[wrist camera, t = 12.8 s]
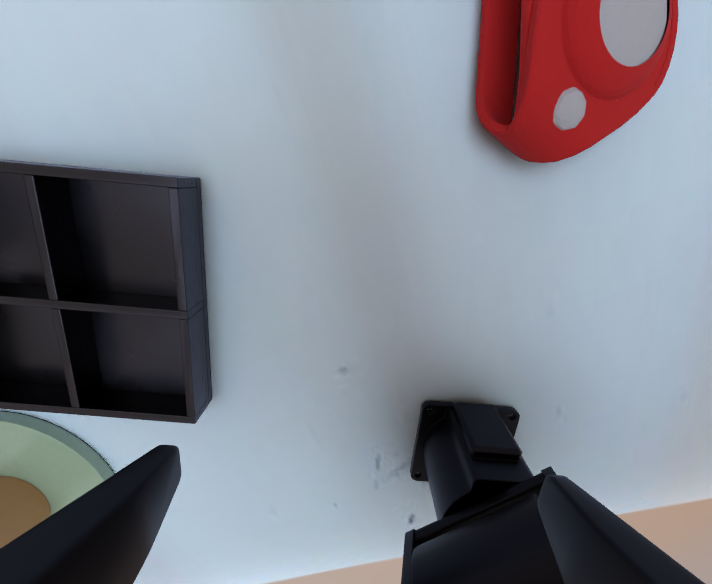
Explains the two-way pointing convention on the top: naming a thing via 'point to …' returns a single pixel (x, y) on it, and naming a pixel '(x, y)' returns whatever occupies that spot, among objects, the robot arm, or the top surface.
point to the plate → (49, 459)
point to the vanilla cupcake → (19, 508)
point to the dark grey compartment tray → (102, 293)
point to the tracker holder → (569, 70)
